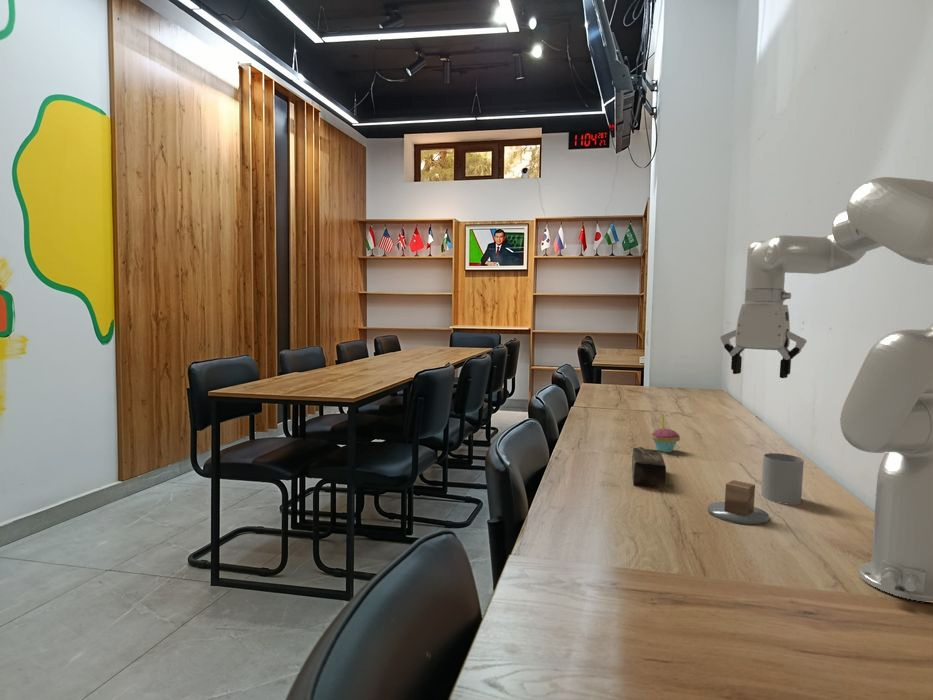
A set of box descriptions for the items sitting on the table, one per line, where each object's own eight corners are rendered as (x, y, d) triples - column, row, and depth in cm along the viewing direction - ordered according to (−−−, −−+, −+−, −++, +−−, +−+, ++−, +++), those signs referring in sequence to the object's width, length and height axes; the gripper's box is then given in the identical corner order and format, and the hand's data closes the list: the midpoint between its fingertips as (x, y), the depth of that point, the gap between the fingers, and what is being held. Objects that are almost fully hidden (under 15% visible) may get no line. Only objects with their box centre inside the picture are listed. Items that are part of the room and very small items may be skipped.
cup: (806, 505, 130) (809, 463, 130) (768, 502, 132) (770, 460, 131) (793, 494, 139) (795, 454, 138) (756, 491, 140) (759, 452, 140)
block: (746, 516, 120) (747, 488, 119) (724, 510, 123) (725, 483, 123) (753, 511, 123) (755, 484, 123) (732, 506, 126) (733, 479, 126)
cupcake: (645, 448, 184) (647, 412, 183) (665, 446, 187) (666, 410, 187) (664, 454, 176) (666, 416, 175) (685, 452, 180) (686, 415, 179)
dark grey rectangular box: (660, 470, 159) (661, 447, 158) (665, 490, 140) (667, 464, 140) (631, 467, 161) (632, 444, 160) (632, 487, 142) (633, 461, 142)
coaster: (757, 529, 115) (757, 525, 115) (698, 513, 123) (699, 510, 123) (776, 515, 123) (776, 511, 123) (720, 501, 132) (720, 498, 132)
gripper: (813, 298, 120) (808, 378, 121) (729, 299, 132) (725, 371, 134) (803, 297, 115) (798, 380, 116) (717, 297, 127) (713, 373, 128)
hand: (759, 375), depth 125 cm, fingers open, 9 cm apart
